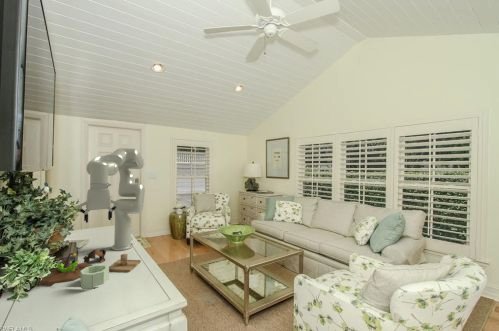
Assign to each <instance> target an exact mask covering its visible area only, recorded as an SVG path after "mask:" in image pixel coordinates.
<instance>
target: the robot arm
mask: <svg viewBox="0 0 499 331" xmlns="http://www.w3.org/2000/svg"><path fill="white" fill-rule="evenodd" d="M144 160H145V159H144V158H143V156H142V153H141V152H140V151H139V149H137V148H125V147H122V148H121V147H120V148H117V149H116V150H114V151H113V152H111V153H110V154H106V155H101V156H97V157H94V158H92V159H91V160H90V161H88V162H87V164H86V173H87V174H88V175H90V176H89V189H87V193H86V201H84V202H82V203H80V204H78V205H77V208H78V209H79V212H81V213H82V214H83V217H84V218H83V221H84V222H85V223H86V224H87V223H89V212H90V211H97V210H98V211H99V210H100V211H101V210H108V212H107V216H108V217H107V218H108V220H109V221H111V220H112V218H113V214H114V234H113V235H114V238H113V239H114V240H113V241H114V243H113V245H111V250H113V251H117V252H119V251H126V250H129V249H132V248H133V247H134V243H132V240H133V239H134V238H133V237H132V236H131V235H132V218H131V217H130V215H131V214H140V213H142V212H143V209H144V201H145V191H146V190H145V189H146V188H145V186H144V184H143V183H141V182H140V183H139V182H134V181H135V175H134V173H133V172H132V171H131V170H141V169H143V168H144V166H145V161H144ZM117 173H119V183H118V196H119V197H122V198H119V199H116V200H112V199H111V191H110V188H109V187H112V184H111V183H109V177H111V176H112V177H113V176H115V175H116V174H117ZM111 204H113V206H112V205H111ZM84 206H86V207H85V208H86V209H83V208H82V207H84ZM111 206H112V207H111Z"/></svg>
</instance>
